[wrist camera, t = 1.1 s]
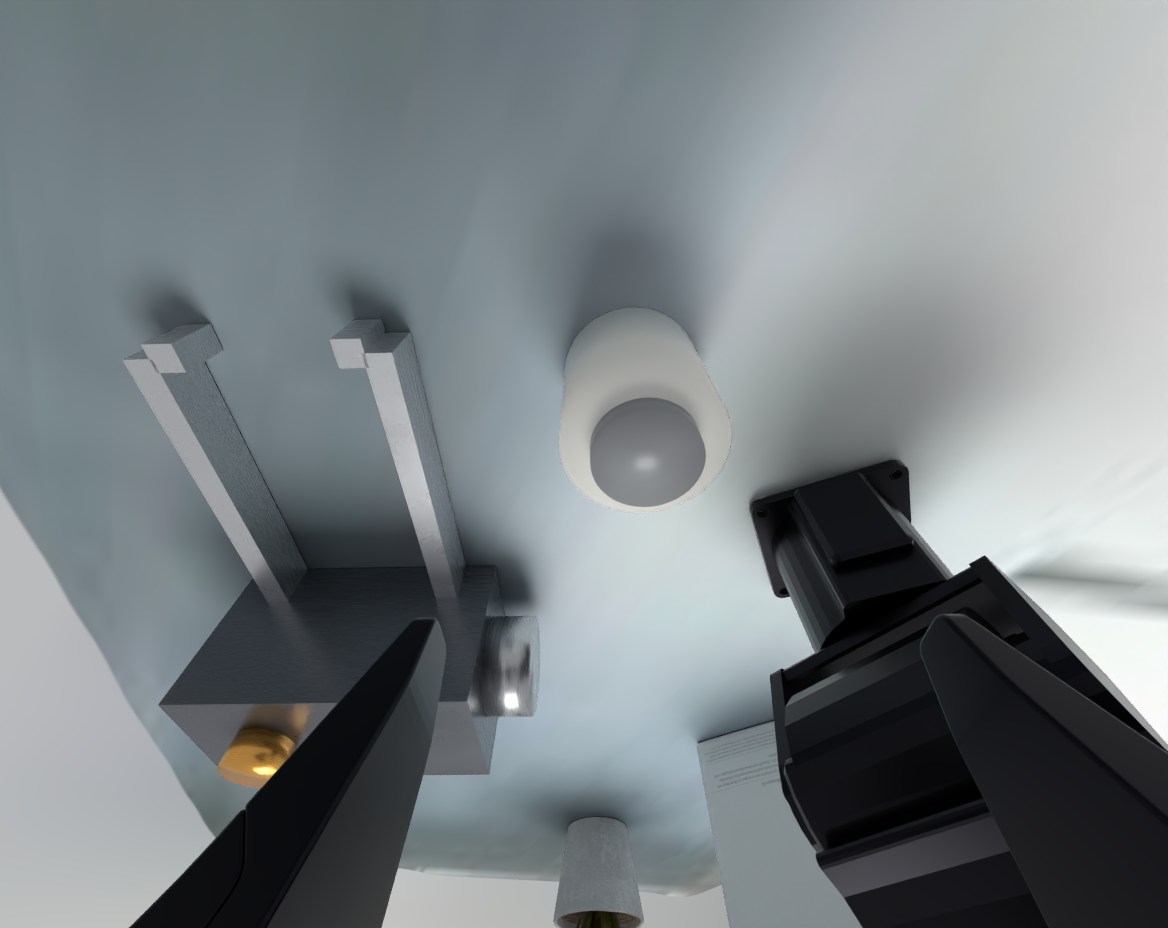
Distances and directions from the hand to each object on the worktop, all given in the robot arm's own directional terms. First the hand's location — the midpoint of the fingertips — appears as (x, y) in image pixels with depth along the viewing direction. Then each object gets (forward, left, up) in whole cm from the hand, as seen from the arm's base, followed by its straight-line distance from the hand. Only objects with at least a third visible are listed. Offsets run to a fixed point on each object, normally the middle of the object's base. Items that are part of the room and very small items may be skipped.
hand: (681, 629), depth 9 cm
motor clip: (-2, +13, -12) cm, 18 cm away
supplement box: (-31, +1, -12) cm, 33 cm away
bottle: (0, 0, -12) cm, 12 cm away
